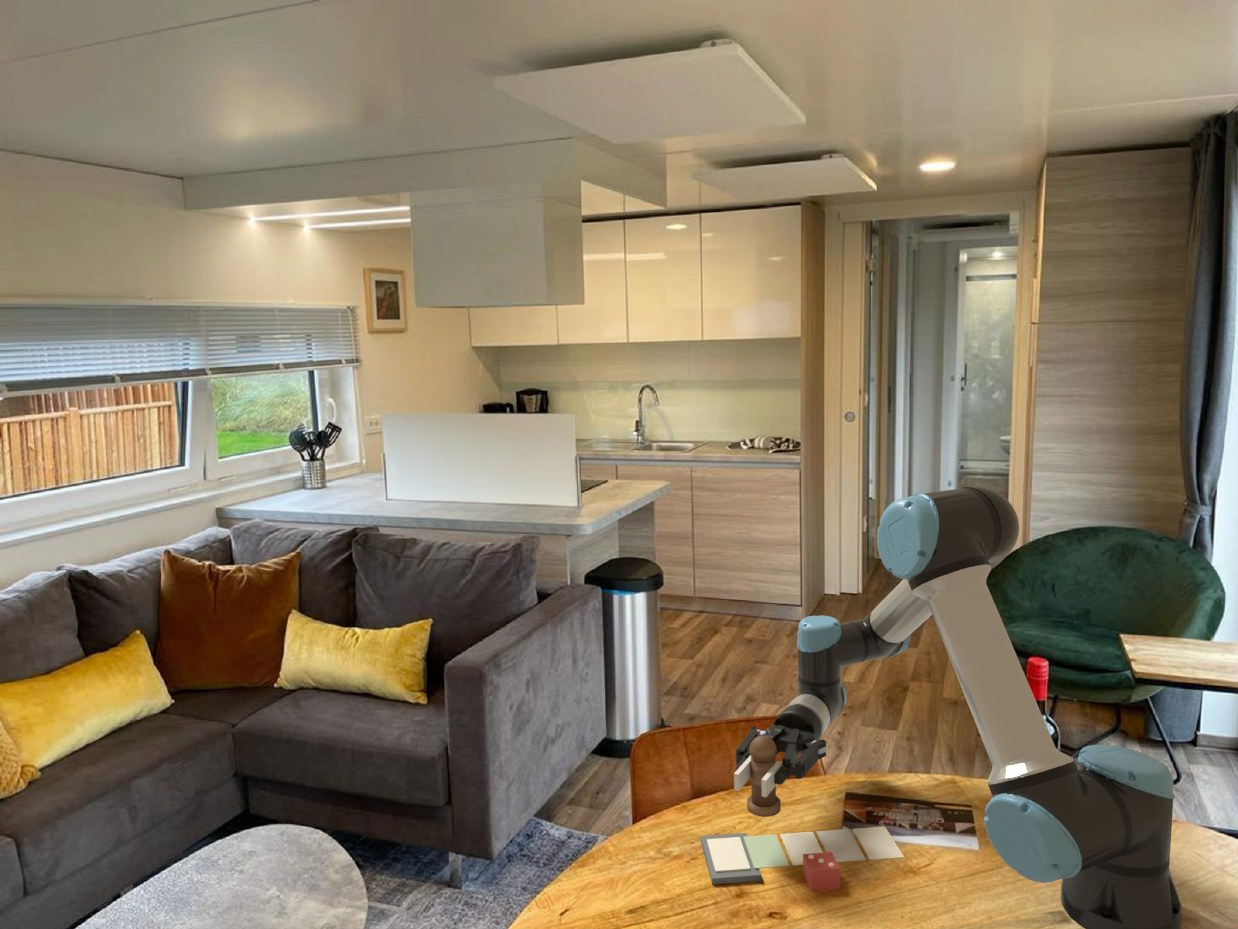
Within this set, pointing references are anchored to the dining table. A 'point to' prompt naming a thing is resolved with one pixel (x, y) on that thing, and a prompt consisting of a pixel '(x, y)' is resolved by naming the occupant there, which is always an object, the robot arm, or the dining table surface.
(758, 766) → the pawn
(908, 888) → the dining table surface
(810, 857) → the red die
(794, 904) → the dining table surface
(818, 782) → the dining table surface
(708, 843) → the game board
